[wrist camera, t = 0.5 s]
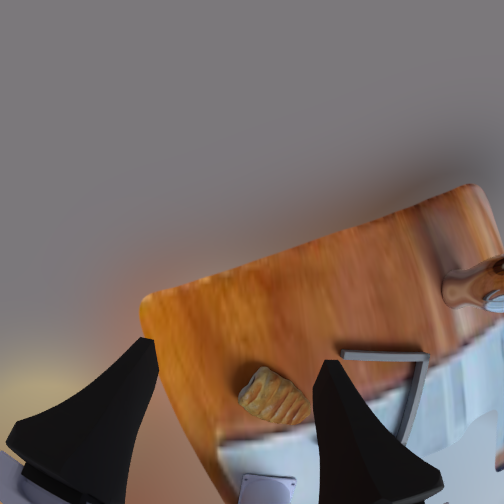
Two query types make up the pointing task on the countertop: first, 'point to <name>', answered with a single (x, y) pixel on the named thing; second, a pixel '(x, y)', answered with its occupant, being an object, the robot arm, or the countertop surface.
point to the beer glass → (476, 286)
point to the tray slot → (416, 386)
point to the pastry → (274, 398)
